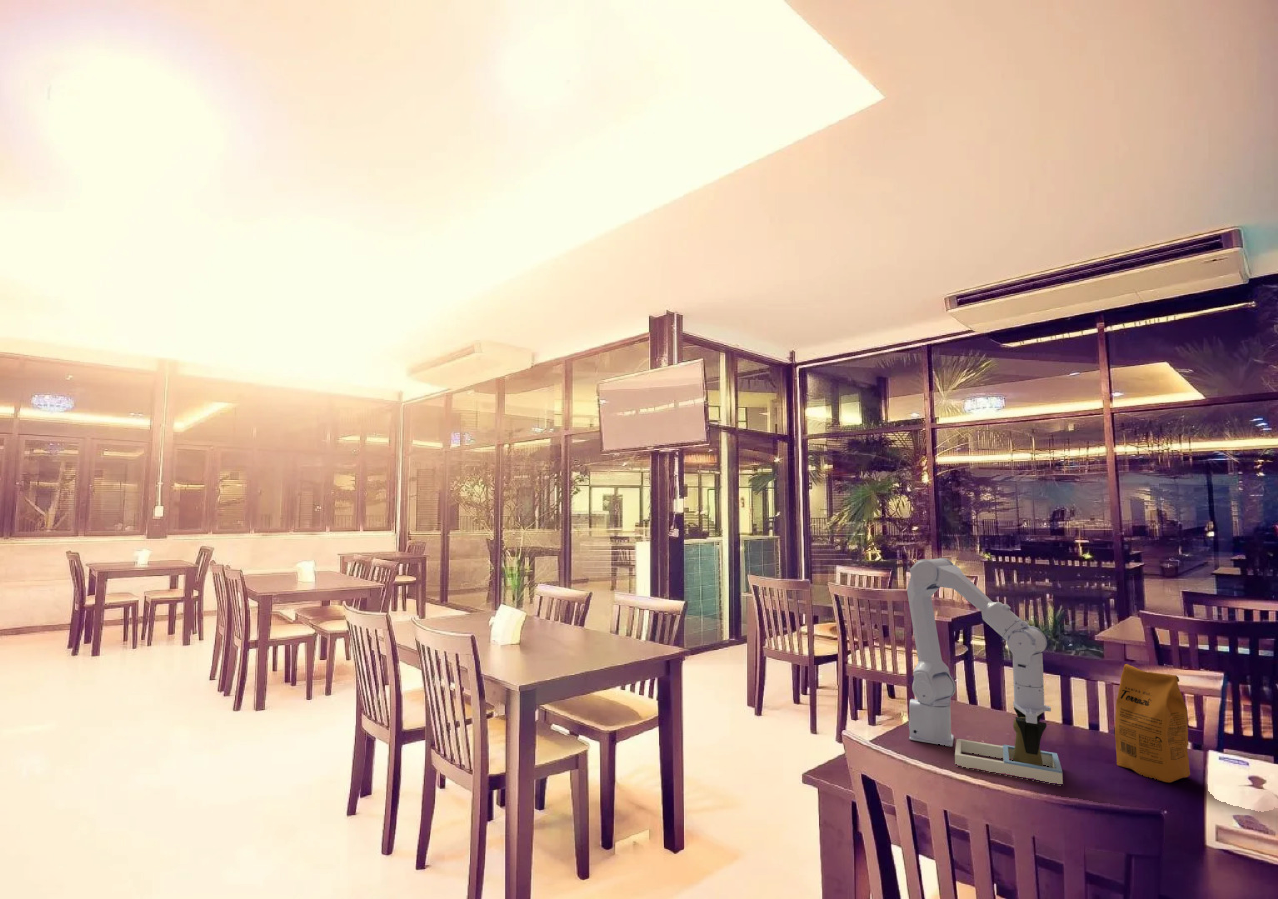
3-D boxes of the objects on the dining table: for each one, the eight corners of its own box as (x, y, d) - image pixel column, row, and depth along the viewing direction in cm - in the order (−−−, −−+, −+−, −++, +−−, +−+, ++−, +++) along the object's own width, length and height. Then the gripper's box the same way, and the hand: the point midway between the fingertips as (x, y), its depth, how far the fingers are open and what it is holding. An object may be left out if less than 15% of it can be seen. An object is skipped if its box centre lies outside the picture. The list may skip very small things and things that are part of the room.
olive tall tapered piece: (1049, 777, 137) (1047, 724, 138) (1018, 774, 138) (1016, 722, 139) (1037, 766, 143) (1036, 715, 144) (1008, 763, 144) (1006, 713, 145)
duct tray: (955, 766, 142) (954, 752, 143) (957, 749, 152) (956, 736, 152) (1062, 785, 133) (1062, 771, 133) (1057, 766, 143) (1056, 753, 143)
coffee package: (1138, 758, 148) (1133, 660, 150) (1199, 780, 136) (1193, 674, 138) (1106, 763, 145) (1102, 663, 147) (1166, 786, 133) (1160, 677, 135)
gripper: (1053, 695, 134) (1055, 763, 133) (1046, 678, 146) (1049, 740, 145) (1013, 690, 137) (1015, 756, 136) (1011, 674, 150) (1013, 734, 149)
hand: (1030, 747), depth 141 cm, fingers open, 7 cm apart
